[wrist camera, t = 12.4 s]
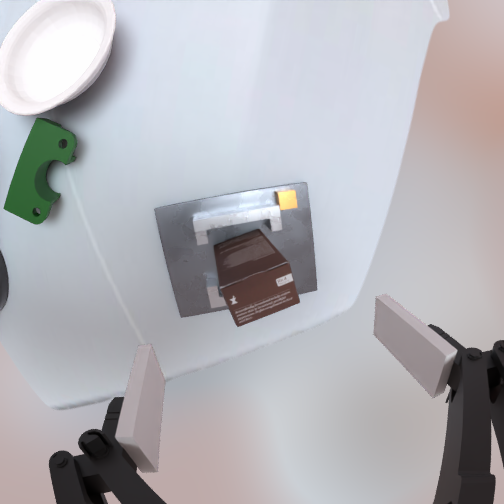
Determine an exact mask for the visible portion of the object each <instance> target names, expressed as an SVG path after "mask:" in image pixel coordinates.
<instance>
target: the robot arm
mask: <svg viewBox="0 0 504 504" xmlns="http://www.w3.org/2000/svg"><path fill="white" fill-rule="evenodd" d="M7 295H8V276H7V271H6V266H5V263H4V260H3V257H2V254H1V252H0V310H1V309H2V308H3V307H4V305H5V303H6V300H7ZM375 304H376V305H375V320H374V336H376V338H377V339H378V340H379V341H380V342H381V343H382V344H383V345H384V346H385V347H386V348H387V349H388V350H389V351H390V352H391V354H393V356H394V357H395V358H396V359H397V360H398V361H399V362H400V363H401V364H402V365H403V366H404V367H405V368H406V370H407V371H408V372H409V373H410V374H411V375H412V376H413V377H414V378H415V379H416V380H417V381H418V383H419V384H420V385H421V386H422V387H423V388H424V389H425V390H426V391H427V392H428V393H429V394H430V396H431V397H432V398H435V397H436V396H438V395H440V394H442V393H444V391H445V388H446V385H447V384H448V385H449V386H450V387H451V389H450V392H449V394H448V397H447V399H446V403H447V402H448V400H449V408H448V420H447V431H446V440H445V446H444V453H443V460H442V466H441V471H440V476H439V481H438V486H437V490H436V495H435V499H434V502H433V504H493V501H494V492H495V476H494V475H492V474H491V473H490V463H491V420H492V423H493V426H494V430H495V434H496V437H497V441H498V445H499V449H500V453H501V457H502V462H503V467H504V340H500V341H497V342H495V344H494V346H493V350H490V351H486V352H482V351H481V350H479V349H477V348H467V349H466V348H464V347H463V346H462V345H461V344H459V343H458V342H457V341H456V340H454V339H453V338H452V337H450V336H449V335H448V334H447V333H445V332H444V331H443V330H442V329H440V328H439V327H436V326H434V325H432V324H430V325H428V326H427V325H426V324H425V323H423V322H422V321H421V320H420V319H418V318H417V317H416V316H414V315H413V314H412V313H411V312H409V311H408V310H407V309H405V308H404V307H403V306H401V305H400V304H399V303H398V302H396V301H395V300H394V299H392V298H391V297H390V296H388V295H387V294H383V295H380V296H377V297H376V303H375ZM165 382H166V381H165V378H164V376H163V373H162V371H161V368H160V366H159V363H158V361H157V358H156V355H155V353H154V350H153V347H152V344H147V345H139V346H138V349H137V353H136V356H135V360H134V363H133V367H132V370H131V374H130V378H129V381H128V385H127V389H126V393H125V397H115V398H114V399H113V400H112V401H111V403H110V404H109V406H108V410H107V414H106V416H105V420H104V424H103V427H102V431H101V430H98V429H91V430H88V431H86V432H84V433H83V434H82V435H81V437H80V438H79V441H78V445H79V448H80V449H81V450H82V451H83V453H84V454H83V455H78V456H74V457H73V456H72V455H71V454H70V453H69V452H67V451H58V452H56V453H54V454H53V455H52V456H51V458H50V460H49V468H50V474H51V480H52V485H53V489H54V494H55V499H56V503H57V504H108V503H107V500H106V498H105V495H104V493H106V492H110V491H112V492H113V493H114V495H115V496H116V497H117V498H118V500H119V501H120V502H121V504H166V503H165V502H164V501H163V500H162V499H161V498H160V497H159V496H158V495H157V494H156V493H155V492H154V491H153V490H152V489H151V488H150V487H149V486H148V485H147V484H146V483H145V482H144V480H143V479H142V478H141V477H140V476H139V475H138V474H137V473H136V470H137V467H138V468H139V470H140V471H141V472H158V460H159V445H160V432H161V421H162V410H163V399H164V390H165Z"/></svg>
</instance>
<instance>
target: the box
mask: <svg viewBox="0 0 504 504" xmlns="http://www.w3.org/2000/svg"><path fill="white" fill-rule="evenodd" d="M213 247H214V254H215V261H216V268H217V274H218V281H219V288H220V290H221V293H222V295H223V297H224V300H225V302H226V304H227V306H228V308H229V310H230V312H231V315H232V317H233V319H234V321H235V324H236V325H237V327H239V326H242V325H244V324H247V323H249V322H252V321H255V320H258V319H260V318H263V317H265V316H268V315H270V314H273V313H275V312H278V311H280V310H283V309H285V308H288V307H290V306H293V305H295V304H298V303H300V300H299V296H298V293H297V289H296V285H295V282H294V278H293V275H292V271H291V267H290V263H289V261H288V260H287V259H286V258H285V257H284V256H283V255H282V254H281V253H280V252H279V251H278V249H277V248H276V247H275V246H274V245H273V244H272V243H271V242H270V240H269V239H268V238H267V237H266V236H265V235H264V233H263V232H262V231H261V230H260V229H256V230H253V231H251V232H248V233H245V234H243V235H240V236H237V237H235V238H232V239H229V240H227V241H224V242H221V243H219V244H216V245H214V246H213Z"/></svg>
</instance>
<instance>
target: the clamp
mask: <svg viewBox="0 0 504 504" xmlns="http://www.w3.org/2000/svg"><path fill="white" fill-rule="evenodd" d="M64 139H66V140H67V147H66V148H63V147H62V141H63V140H64ZM76 146H77V138H76V136H75V135H74V134H73V133H72V132H70V131H68V130H66V129H63V128H61V125H60V124H58V123H56V122H54V121H51V120H49V119H45V118H36V120H35V123H34V125H33V127H32V129H31V132H30V134H29V136H28V139H27V141H26V143H25V146H24V148H23V151H22V153H21V156H20V159H19V161H18V164H17V167H16V170H15V173H14V176H13V179H12V182H11V185H10V188H9V191H8V195H7V198H6V201H5V205H4V209H5V210H7V211H9V212H11V213H13V214H15V215H17V216H19V217H21V218H23V219H25V220H27V221H29V222H31V223H33V224H41V223H42V222H43V221H44V220H45V219H46V218H47V217H48V215H49V213H50V210H51V207H52V204H53V203H54V202H55V201H56V200H57V199H58V198H59V197H60V193H56V192H54V191H53V190H52V189H51V188H50V187H49V185H48V183H47V180H46V171H47V168H48V166H49V164H50V163H51V162H52V161H53V160H59V161H61V162H63V163H64V164H65V165H67V164H69V163H71V162H74V161H75V158H76V157H75V156H73V153H74V151H75V148H76ZM36 207H37V208H39V209H40V214H39V213H37V211H36Z"/></svg>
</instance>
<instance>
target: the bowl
mask: <svg viewBox="0 0 504 504" xmlns="http://www.w3.org/2000/svg"><path fill="white" fill-rule="evenodd" d="M115 27H116V13H115V8H114V5H113V3H112V1H111V0H40V1H39V2H37V3H36V4H35V5H33V6H32V7H31V8H30V9H28V10H27V11H26V12H25V13H24V14H23V15H22V16H21V17H20V18H19V19H18V20H17V22H16V23H15V24H14V26H13V27H12V28H11V30H10V31H9V32H8V34H7V36H6V38H5V39H4V41H3V43H2V45H1V47H0V104H1V105H2V106H3V107H4V108H5V109H6V110H8V111H9V112H11V113H14V114H16V115H23V116H30V115H36V114H40V113H43V112H45V111H48V110H50V109H52V108H54V107H56V106H59V105H62V104H65V103H67V102H69V101H71V100H73V99H74V98H76V97H78V96H79V95H80V94H81V93H83V92H84V91H85V90H87V89H88V88H89V87H90V86H91V85H92V84H93V83H94V82H95V81H96V80H97V78H98V77H99V75H100V74H101V72H102V71H103V69H104V67H105V65H106V63H107V61H108V58H109V56H110V54H111V49H112V45H113V35H114V31H115Z"/></svg>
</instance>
